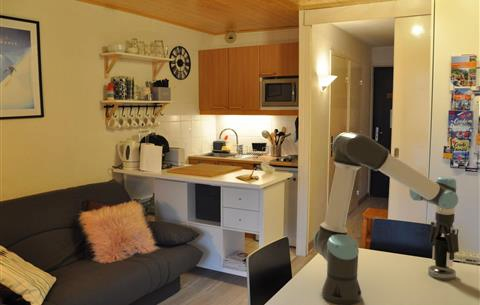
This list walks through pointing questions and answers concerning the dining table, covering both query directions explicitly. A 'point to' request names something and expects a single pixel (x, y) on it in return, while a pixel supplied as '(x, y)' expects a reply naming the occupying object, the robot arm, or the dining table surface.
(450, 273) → the grey metal bowl
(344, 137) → the robot arm
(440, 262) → the cup
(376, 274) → the dining table surface
